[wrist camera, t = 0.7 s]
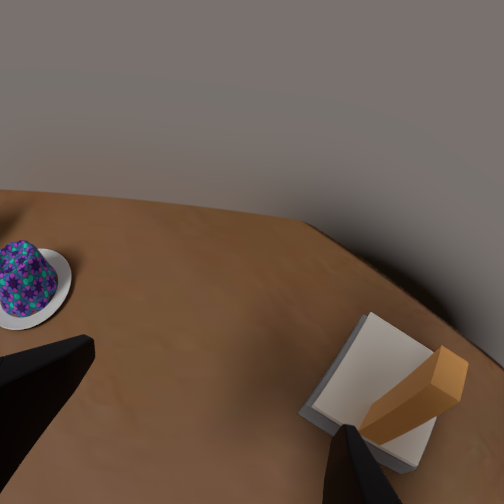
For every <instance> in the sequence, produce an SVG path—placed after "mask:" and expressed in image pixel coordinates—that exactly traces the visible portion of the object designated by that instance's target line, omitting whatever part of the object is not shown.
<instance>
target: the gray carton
mask: <svg viewBox="0 0 504 504" xmlns="http://www.w3.org/2000/svg"><path fill="white" fill-rule="evenodd" d="M367 317H368V316H366V315H364V314H363V316H362V317H361V318H360V320H359V321H358V323H357V324H356V326H355V327H354V329H353V330H352V332H351V334H350V335H349V337H348V339H347V340H346V342H345V343H344V345H343V347H342V348H341V350H340V351H339V353H338V355H337V356H336V358H335V359H334V361H333V362H332V364H331V365H330V367H329V368H328V370H327V371H326V373H325V374H324V376H323V377H322V379H321V380H320V382H319V383H318V385H317V386H316V387H315V389H314V390H313V392H312V393H311V395H310V396H309V397H308V399H307V400H306V402H305V403H304V404H303V406H302V407H301V408H300V410H299V411H298V412H297V414H299V415H300V416H302V417H303V418H305V419H306V420H308V421H310V422H311V423H313V424H314V425H316V426H317V427H319V428H320V429H322V430H324V431H325V432H327V433H328V434H330V435H332V436H334V435H335V434H336V432H337V431H338V430H339V428H340V427H341V425H339V424H337V423H336V422H334V421H332V420H331V419H329V418H328V417H326V416H325V415H323V414H321V413H320V412H318V411H317V410H315V409H314V408H312V405H313V404H314V402H315V401H316V400H317V398H318V397H319V395H320V394H321V392H322V391H323V389H324V388H325V386H326V385H327V383H328V382H329V380H330V379H331V377H332V376H333V374H334V373H335V371H336V369H337V368H338V366H339V365H340V363H341V361H342V360H343V358H344V357H345V355H346V353H347V352H348V350H349V348H350V347H351V345H352V343H353V342H354V340H355V338H356V337H357V335H358V333H359V331H360V330H361V328H362V326H363V324H364V322H365V321H366V319H367ZM436 418H437V417H436ZM435 421H436V420H435ZM434 424H435V423H434ZM433 427H434V426H433ZM432 430H433V429H432ZM431 432H432V431H431ZM430 435H431V434H430ZM429 438H430V437H429ZM363 440H364V439H363ZM428 440H429V439H428ZM364 441H365V443H366V445H367V446H368V448H369V450H370V451H371V453H372V455H373V456H374V458H375V459H376V461H377V462H378V463H380V464H382V465H384V466H386V467H388V468H390V469H392V470H393V471H395V472H397V473H399V474H404V473H407V472H410V471H414V470H416V469H417V467H418V466H416V467H413V466H411V465H409V464H407V463H405V462H403V461H402V460H400V459H398V458H396V457H394V456H392V455H390V454H389V453H387V452H385V451H383V450H381V449H380V448H378V447H376V446H374V445H373V444H371V443H369V442H367V441H366V440H364ZM427 443H428V442H427ZM426 445H427V444H426ZM425 448H426V447H425ZM424 450H425V449H424ZM423 453H424V452H423ZM422 455H423V454H422ZM420 460H421V459H420ZM419 462H420V461H419Z"/></svg>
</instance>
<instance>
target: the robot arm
mask: <svg viewBox="0 0 504 504" xmlns="http://www.w3.org/2000/svg"><path fill="white" fill-rule="evenodd" d="M94 359H95V345H94V340H93V338H91V337H89V336H87V335H85V334H83V335H79V336H75V337H72V338H68V339H65V340H61V341H58V342H54V343H51V344H47V345H43V346H40V347H36V348H32V349H29V350H25V351H21V352H18V353H14V354H10V355H6V356H5V357H4V356H2V357H0V493H1V492H2V490H3V489H4V487H5V486H6V484H7V483H8V481H9V480H10V478H11V477H12V476H13V474H14V473H15V471H16V470H17V468H18V467H19V466H20V464H21V462H22V461H23V460H24V458H25V457H26V455H27V454H28V453H29V451H30V450H31V449H32V447H33V446H34V444H35V443H36V442H37V440H38V439H39V438H40V436H41V435H42V434H43V432H44V431H45V430H46V428H47V427H48V426H49V424H50V423H51V422H52V420H53V419H54V418H55V416H56V415H57V414H58V412H59V411H60V410H61V408H62V407H63V406H64V405H65V403H66V402H67V401H68V399H69V398H70V397H71V396H72V394H73V393H74V392H75V390H76V389H77V387H78V386H79V384H80V382H81V381H82V379H83V377H84V376H85V374H86V373H87V371H88V369H89V368H90V366H91V365H92V363H93V361H94ZM398 498H399V497H398V495H397V494H396V492H395V490H394V489H393V487H392V486H391V484H390V482H389V481H388V479H387V477H386V476H385V474H384V473H383V471H382V469H381V468H380V466H379V464H378V463H377V461H376V459H375V458H374V456H373V455H372V453H371V451H370V450H369V448H368V446H367V445H366V443H365V441H364V440H363V438H362V437H361V435H360V433H359V432H358V430H357V428H356V427H355V426H354V425H350V424H343V425H342V426H341V427H340V428H339V430H338V431H337V432H336V434H335V435H334V436H333V438H332V441H331V445H330V451H329V457H328V462H327V467H326V472H325V478H324V488H323V501H322V504H403V503H402V502H401V500H400V499H398Z"/></svg>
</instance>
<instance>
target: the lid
mask: <svg viewBox="0 0 504 504" xmlns="http://www.w3.org/2000/svg"><path fill="white" fill-rule="evenodd" d="M467 368H468V362H466V361H465V360H463V359H462V358H460V357H459V356H457V355H456V354H454V353H453V352H451V351H450V350H448V349H447V348H445V347H444V346H440V347H439V348H438V349H437V350H436V351H435V352H433V351H431V350H430V349H428V348H426V347H425V346H423V345H422V344H420V343H419V342H417V341H416V340H414V339H412V338H411V337H409V336H408V335H406V334H405V333H403V332H402V331H400V330H398V329H397V328H395V327H394V326H392V325H391V324H389V323H387V322H386V321H384V320H383V319H381V318H380V317H378V316H376V315H375V314H373V313H372V312H370V314H369V315H368V317H367V319H366V321H365V322H364V324H363V326H362V328H361V330H360V331H359V333H358V335H357V337H356V338H355V340H354V342H353V343H352V345H351V347H350V348H349V350H348V352H347V353H346V355H345V357H344V358H343V360H342V361H341V363H340V365H339V366H338V368H337V369H336V371H335V373H334V374H333V376H332V377H331V379H330V380H329V382H328V383H327V385H326V386H325V388H324V389H323V391H322V392H321V394H320V395H319V397H318V398H317V400H316V401H315V402H314V404H313V405H312V408H314V409H315V410H317V411H318V412H320V413H321V414H323V415H325V416H326V417H328V418H329V419H331V420H332V421H334V422H336V423H337V424H339V425H341V426H342V425H343V424H350V425H354V426H355V427H356V428H357V430H358V432H359V433H360V435H361V437H362V438H363V439H364V440H366V441H367V442H369V443H371V444H373V445H374V446H376V447H378V448H380V449H381V450H383V451H385V452H387V453H389V454H390V455H392V456H394V457H396V458H398V459H400V460H402V461H403V462H405V463H407V464H409V465H411V466H413V467H416V466H418V464H419V461H420V459H421V457H422V454H423V452H424V449H425V447H426V444H427V442H428V439H429V437H430V434H431V431H432V429H433V426H434V423H435V420H436V417H437V415H439V414H441V413H442V412H444V411H446V410H447V409H449V408H451V407H452V406H454V405H455V404H457V403H458V402H460V399H461V395H462V391H463V387H464V382H465V378H466V373H467Z"/></svg>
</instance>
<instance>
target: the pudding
mask: <svg viewBox="0 0 504 504" xmlns="http://www.w3.org/2000/svg"><path fill="white" fill-rule="evenodd" d="M51 266H52V267H53V268H54V269H53V268H52V267H51ZM55 271H56V273H57V276H58V287H57V282H56V281H55V280H54V278H55V276H56V273H55ZM70 285H71V269H70V266H69V264H68V262H67V260H66V259H65V258H64V257H63V256H62V255H60V254H59V253H58V252H55V251H53V250H48V249H37V248H36V247H35V246H34V245H33V244H30V243H29V242H27V241H25V240H21V241H18V242H11V243H9V244H8V245H6V247H5V248H3V249H1V250H0V301H1V302H2V305H3V308H4V310H5V311H4V310H3V309H2V307H1V304H0V326H1V327H4V328H6V329H11V330H22V329H27V328H30V327H33V326H35V325H38V324H39V323H41V322H43V321H44V320H46V319H47V318H48V317H50V316H51V315H52V314H53V313H54V312H55V311H56V310H57V309H58V308H59V307H60V305H61V304H62V303H63V301H64V300H65V298H66V296H67V294H68V291H69V288H70ZM56 289H57V290H56ZM55 291H56V293H55ZM54 293H55V295H54V297H53V299H52V300H51V301H50V303H49V297H50V296H51V295H53V294H54ZM48 303H49V304H48ZM47 304H48V305H47ZM46 305H47V306H46ZM43 308H44V309H43ZM41 309H42V310H41ZM40 310H41V311H40ZM33 311H40V312H38V313H36V314H34V315H32V316H30V314H31V313H32V312H33ZM7 313H8V314H10V315H11V314H14V313H16V314H17V315H18V316H19V317H24V318H17V317H13V316H10V315H8V314H7ZM27 316H29V317H27Z"/></svg>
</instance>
